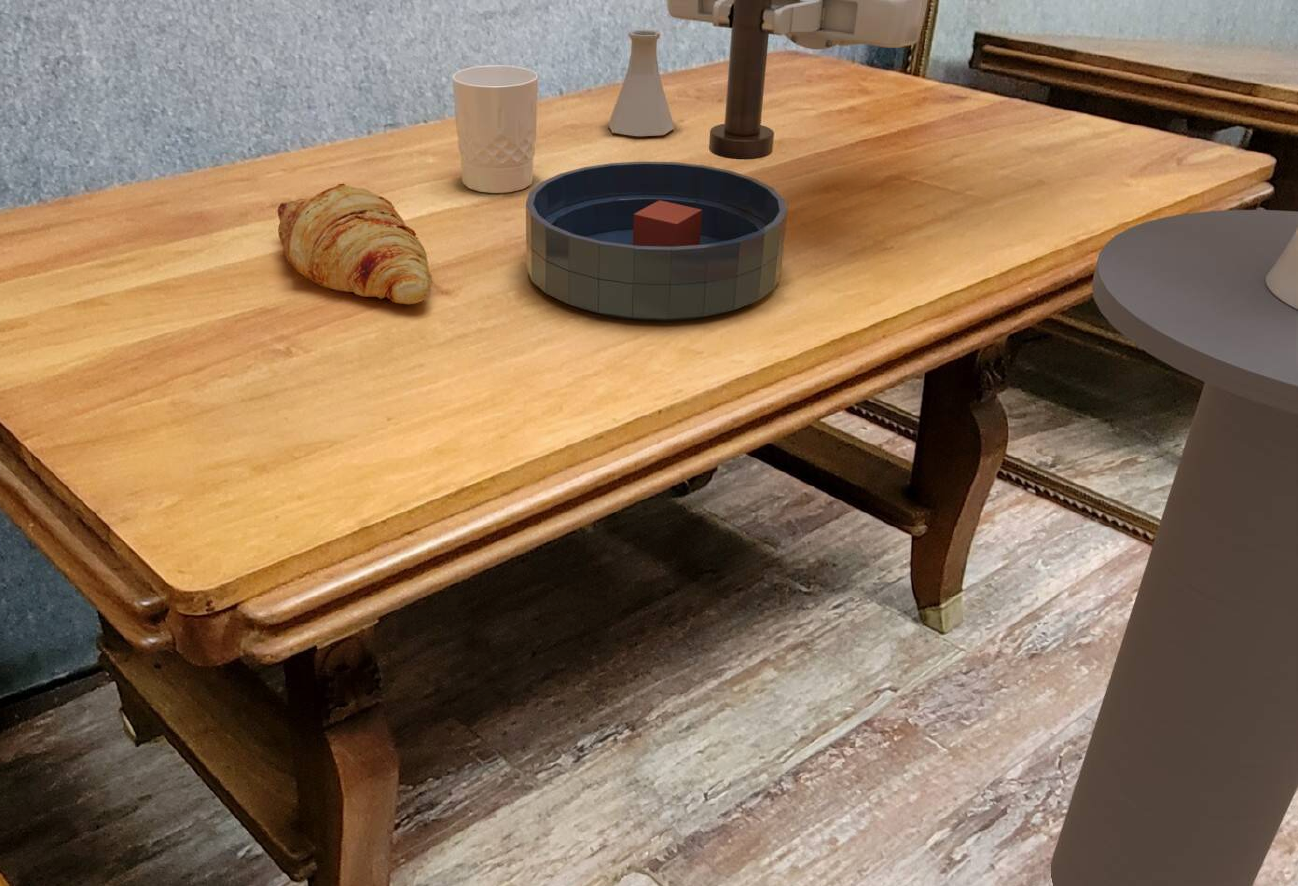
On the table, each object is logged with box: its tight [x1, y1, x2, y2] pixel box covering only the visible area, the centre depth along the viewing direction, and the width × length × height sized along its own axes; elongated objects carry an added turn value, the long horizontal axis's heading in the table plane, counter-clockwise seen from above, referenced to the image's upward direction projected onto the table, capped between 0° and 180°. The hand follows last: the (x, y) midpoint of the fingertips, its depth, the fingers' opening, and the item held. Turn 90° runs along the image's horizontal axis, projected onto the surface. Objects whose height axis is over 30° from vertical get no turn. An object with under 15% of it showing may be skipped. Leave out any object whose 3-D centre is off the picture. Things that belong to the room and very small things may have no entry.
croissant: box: [277, 183, 433, 305], centre depth 99 cm, size 21×10×8 cm, turn 40°
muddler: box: [708, 0, 775, 161], centre depth 93 cm, size 5×5×18 cm
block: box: [633, 200, 702, 247], centre depth 100 cm, size 4×4×4 cm
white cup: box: [451, 64, 539, 194], centre depth 116 cm, size 8×8×10 cm
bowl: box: [525, 160, 788, 322], centre depth 98 cm, size 20×20×6 cm
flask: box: [607, 28, 675, 137], centre depth 131 cm, size 7×7×10 cm
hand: (746, 19), depth 92 cm, fingers closed on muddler, 3 cm apart
